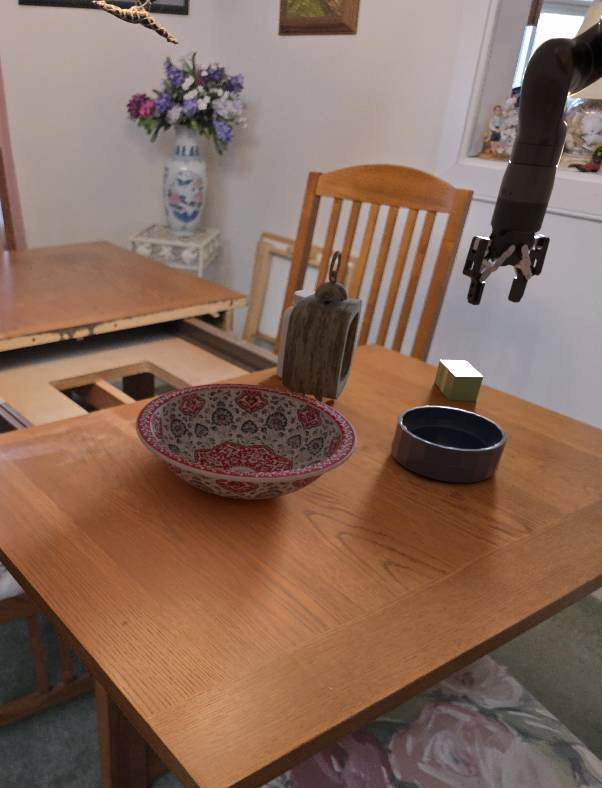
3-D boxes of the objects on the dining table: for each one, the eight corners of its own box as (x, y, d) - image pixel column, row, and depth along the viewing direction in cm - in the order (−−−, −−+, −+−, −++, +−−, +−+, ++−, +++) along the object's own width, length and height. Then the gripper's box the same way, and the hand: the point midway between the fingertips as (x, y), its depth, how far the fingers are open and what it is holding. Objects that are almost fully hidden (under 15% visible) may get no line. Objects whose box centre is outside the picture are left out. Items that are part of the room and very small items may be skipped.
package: (459, 384, 132) (466, 360, 129) (476, 401, 125) (483, 376, 123) (433, 383, 131) (439, 359, 129) (449, 400, 125) (455, 376, 122)
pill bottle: (327, 376, 131) (340, 294, 123) (302, 387, 126) (314, 303, 118) (292, 365, 136) (302, 285, 127) (267, 375, 131) (276, 292, 122)
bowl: (472, 439, 112) (481, 406, 109) (513, 486, 99) (525, 451, 96) (378, 437, 111) (385, 404, 108) (408, 485, 98) (417, 450, 95)
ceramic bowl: (90, 481, 95) (88, 426, 90) (217, 415, 115) (220, 368, 110) (274, 565, 81) (282, 506, 76) (382, 474, 101) (393, 422, 96)
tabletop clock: (329, 428, 113) (357, 264, 99) (275, 417, 115) (294, 256, 101) (346, 396, 124) (372, 245, 110) (296, 387, 126) (315, 239, 112)
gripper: (504, 201, 104) (474, 311, 113) (577, 200, 108) (542, 306, 118) (470, 192, 109) (444, 298, 119) (541, 192, 114) (511, 294, 123)
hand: (493, 302), depth 118 cm, fingers open, 8 cm apart
